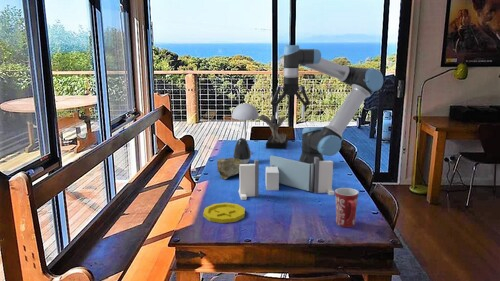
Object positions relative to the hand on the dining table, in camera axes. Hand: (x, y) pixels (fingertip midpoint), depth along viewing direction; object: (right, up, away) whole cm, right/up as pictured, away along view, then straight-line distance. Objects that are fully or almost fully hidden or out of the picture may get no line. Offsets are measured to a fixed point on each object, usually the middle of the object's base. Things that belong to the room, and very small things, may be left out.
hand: (289, 118), depth 213 cm
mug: (+17, -45, -51) cm, 70 cm away
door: (-1, -34, -8) cm, 35 cm away
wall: (-3, -36, -17) cm, 40 cm away
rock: (-31, -30, +10) cm, 44 cm away
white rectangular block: (-10, -34, -7) cm, 36 cm away
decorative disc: (-31, -43, -41) cm, 67 cm away
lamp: (-24, -20, +55) cm, 63 cm away
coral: (-5, -15, +76) cm, 78 cm away
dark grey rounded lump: (-25, -25, +33) cm, 49 cm away
